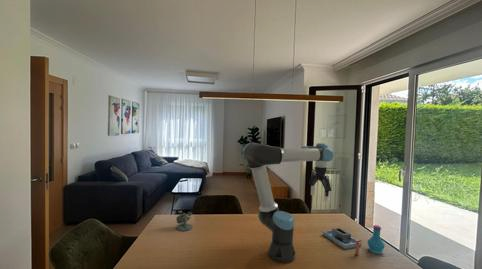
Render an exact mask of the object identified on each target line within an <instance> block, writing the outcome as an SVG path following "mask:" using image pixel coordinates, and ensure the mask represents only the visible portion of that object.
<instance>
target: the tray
mask: <svg viewBox="0 0 482 269" xmlns="http://www.w3.org/2000/svg"><path fill="white" fill-rule="evenodd" d="M322 236H324V237H325V238H327V239H329V240H330V241H332V242H333V243H334V244H336V245H338V246H339V247H341V248H342V249H344V250H347V249H354V248H356V242H355V240H357V239H355V237H352V236H351V241H350V243H344V244H343V243H342V242H340V241H339V240H337V239H336V238H334V237H332V229H329V230H328V229H327V230H323V231H322ZM361 246H362V242H359V248H360V247H361Z"/></svg>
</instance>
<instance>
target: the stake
mask: <svg viewBox="0 0 482 269" xmlns="http://www.w3.org/2000/svg"><path fill="white" fill-rule="evenodd" d="M355 242H356V247H355V249H354V253H355V254H354V255H355V256H359V253H360V247H359V242H361V243H362V239H356V240H355Z"/></svg>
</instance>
